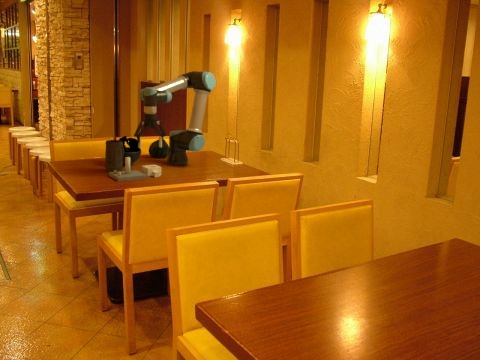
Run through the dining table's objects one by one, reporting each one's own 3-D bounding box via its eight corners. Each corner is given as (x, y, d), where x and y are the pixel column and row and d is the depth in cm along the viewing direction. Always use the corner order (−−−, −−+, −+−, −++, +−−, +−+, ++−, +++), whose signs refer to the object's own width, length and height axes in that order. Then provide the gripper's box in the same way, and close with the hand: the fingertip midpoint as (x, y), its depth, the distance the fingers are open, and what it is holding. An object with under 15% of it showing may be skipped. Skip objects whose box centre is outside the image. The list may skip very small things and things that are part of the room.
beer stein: (117, 173, 307) (118, 141, 304) (101, 172, 309) (102, 140, 306) (128, 170, 322) (128, 140, 319) (112, 169, 324) (113, 138, 321)
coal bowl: (135, 168, 325) (135, 140, 321) (106, 166, 327) (106, 138, 323) (145, 162, 344) (145, 135, 340) (117, 160, 347) (117, 134, 342)
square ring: (141, 173, 311) (141, 165, 310) (155, 172, 316) (155, 164, 315) (150, 177, 301) (150, 169, 300) (164, 176, 306) (164, 168, 305)
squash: (144, 148, 369) (150, 135, 359) (162, 148, 377) (169, 135, 367) (150, 163, 362) (157, 150, 352) (168, 162, 371) (175, 150, 361)
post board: (136, 173, 312) (136, 154, 309) (147, 178, 299) (147, 158, 297) (108, 175, 302) (108, 156, 299) (118, 181, 289) (118, 161, 287)
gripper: (132, 114, 292) (133, 149, 297) (171, 113, 305) (171, 147, 310) (128, 112, 298) (128, 147, 303) (166, 112, 311) (166, 145, 316)
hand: (150, 147), depth 307 cm, fingers open, 13 cm apart
